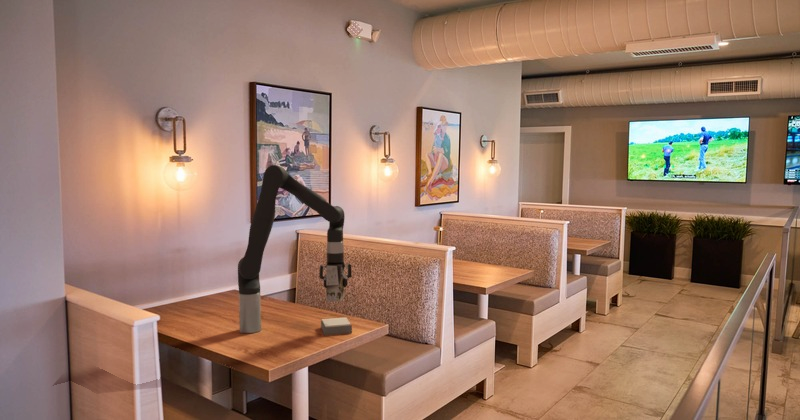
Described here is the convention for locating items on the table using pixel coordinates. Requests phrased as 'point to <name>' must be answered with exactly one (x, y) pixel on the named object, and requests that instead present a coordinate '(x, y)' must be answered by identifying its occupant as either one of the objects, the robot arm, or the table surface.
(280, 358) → the table surface
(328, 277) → the coffee box
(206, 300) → the table surface
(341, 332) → the pedestal
